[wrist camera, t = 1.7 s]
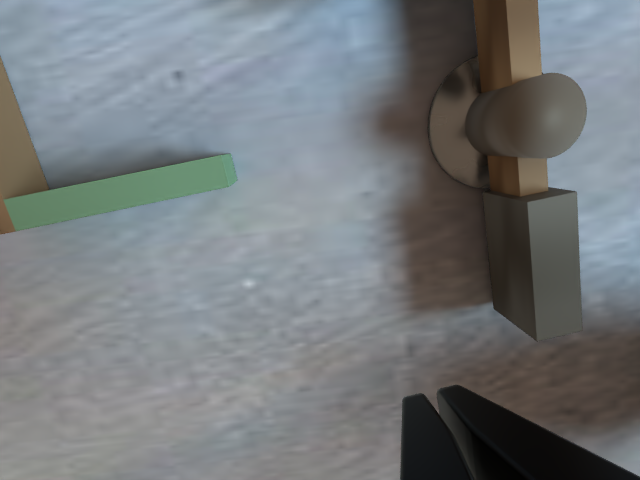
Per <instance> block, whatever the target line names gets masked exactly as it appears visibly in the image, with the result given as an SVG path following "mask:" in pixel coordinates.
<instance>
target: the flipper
mask: <svg viewBox="0 0 640 480" xmlns="http://www.w3.org/2000/svg"><path fill="white" fill-rule="evenodd" d="M473 5H474V16H475V27H476V38H477V48H478V59H479V70H480V81H481V92H482V93H481V94H480V95H479V96H478V97H477V98H476V99H475V100H474V101H473V102H472V104H471V106H470V108H469V110H468V112H467V115H466V121H465V130H466V135H467V138H468V140H469V142H470V144H471V145H472V146H473V147H474V148H475V149H476V150H477V151H478V152H480V153H482V154H484V155H487V157H488V168H489V179H490V189H491V190H490V191H485V192H482V193H483V203H484V213H485V224H486V234H487V244H488V255H489V265H490V275H491V285H492V296H493V306H494V309H495V310H496V311H498V312H499V313H500V314H502V315H503V316H504V317H505V318H507V319H508V320H509V321H511V322H512V323H513V324H515V325H516V326H517V327H519V328H520V329H521V330H523V331H524V332H525V333H526V334H528V335H529V336H530V337H532V338H533V339H534V340H536V341H542V340H546V339H550V338H554V337H559V336H563V335H567V334H571V333H576V332H580V331H582V313H581V287H580V261H579V235H578V209H577V192H576V191H570V190H563V189H557V188H550V187H548V176H547V158H551V157H555V156H557V155H560V154H561V153H563V152H565V151H566V150H567V149H569V148H570V147H571V146H572V145H573V144H574V143H575V141H576V140H577V139H578V137H579V136H580V134H581V132H582V130H583V127H584V124H585V120H586V114H587V107H586V100H585V97H584V94H583V92H582V90H581V88H580V87H579V85H578V84H577V83H576V82H575V81H574V80H572V79H571V78H570V77H568V76H566V75H563V74H559V73H546V74H542V69H541V51H540V33H539V16H538V0H473Z"/></svg>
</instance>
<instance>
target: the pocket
mask: <svg viewBox="0 0 640 480" xmlns="http://www.w3.org/2000/svg"><path fill="white" fill-rule="evenodd" d="M236 181H237V177H236V173H235V169H234V165H233V161H232V157H231V154H225V155H219V156H214V157H209V158H204V159H199V160H195V161H190V162H185V163H180V164H175V165H170V166H165V167H160V168H155V169H151V170H146V171H141V172H136V173H131V174H126V175H121V176H116V177H111V178H107V179H102V180H97V181H92V182H87V183H82V184H77V185H72V186H68V187H63V188H58V189H53V190H49V187H48V185H47V182H46V179H45V176H44V174H43V171H42V168H41V166H40V163H39V160H38V157H37V155H36V152H35V149H34V147H33V144H32V141H31V138H30V136H29V133H28V130H27V128H26V125H25V122H24V119H23V117H22V114H21V111H20V108H19V106H18V103H17V100H16V98H15V95H14V92H13V89H12V87H11V84H10V81H9V79H8V76H7V73H6V70H5V68H4V65H3V62H2V59H1V57H0V234H5V233H10V232H15V231H19V230H24V229H29V228H34V227H39V226H43V225H48V224H53V223H58V222H63V221H67V220H72V219H77V218H82V217H87V216H91V215H96V214H101V213H106V212H111V211H115V210H120V209H125V208H130V207H135V206H139V205H144V204H149V203H154V202H158V201H163V200H168V199H173V198H178V197H182V196H187V195H192V194H197V193H202V192H206V191H211V190H216V189H221V188H226V187H229V186H231V185H232V184H233V183H235V182H236Z"/></svg>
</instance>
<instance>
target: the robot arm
mask: <svg viewBox="0 0 640 480" xmlns="http://www.w3.org/2000/svg"><path fill="white" fill-rule="evenodd" d="M437 400H438V407H439V414H440V415H439V414H438V412H437V411H436V410H435V408H434V407H433V406H432V404H431V403H430V401H429V400H428V399H427V397H426V396H425V395H424V394H422V393H419V394H415V395H411V396H407V397H404V398H403V401H402V434H401V468H400V480H640V477H639V476H637V475H636V474H634V473H632V472H630V471H628V470H626V469H624V468H622V467H620V466H618V465H616V464H614V463H612V462H610V461H608V460H606V459H604V458H602V457H600V456H598V455H596V454H594V453H592V452H590V451H588V450H586V449H584V448H582V447H580V446H578V445H576V444H574V443H572V442H570V441H568V440H566V439H565V438H563V437H561V436H559V435H557V434H555V433H553V432H551V431H549V430H547V429H545V428H543V427H541V426H539V425H537V424H535V423H533V422H531V421H529V420H527V419H525V418H523V417H521V416H519V415H517V414H515V413H513V412H511V411H509V410H507V409H505V408H503V407H501V406H499V405H497V404H496V403H494V402H492V401H490V400H488V399H486V398H484V397H482V396H480V395H478V394H476V393H474V392H472V391H470V390H468V389H466V388H464V387H462V386H460V385H452V386H448V387H444V388H440V389H439V390H438V391H437Z"/></svg>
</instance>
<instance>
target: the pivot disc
mask: <svg viewBox="0 0 640 480" xmlns="http://www.w3.org/2000/svg"><path fill="white" fill-rule="evenodd" d="M542 74H543V73H542ZM481 93H482V92H481V81H480V70H479V59H478V56H477V57H474V58H472V59H470V60H468V61H466V62H464V63H463V64H461V65H460V66H458V67H457V68H456V69H454V70H453V71H452V72H451V73H450V74H449V75H448V76H447V77H446V79H445V80H444V81H443V83H442V84H441V85H440V87H439V89H438V90H437V92H436V94H435V97H434V99H433V101H432V105H431V108H430V112H429V118H428V137H429V142H430V146H431V149H432V152H433V154H434V156H435V158H436V160H437V162H438V163H439V165H440V166H441V167H442V169H443V170H444V171H445V172H446V173H447V174H448V175H450V176H451V177H452V178H453V179H455V180H457V181H458V182H461V183H463V184H465V185H468V186H472V187H477V188H490V179H489V168H488V157H487V155H484V154H482V153H480V152H478V151H477V150H476V149H475V148H474V147H473V146H472V145H471V144H470V142H469V140H468V138H467V135H466V130H465V121H466V115H467V112H468V110H469V108H470V106H471V104H472V102H473V101H474V100H475V99H476V98H477V97H478V96H479V95H480V94H481Z"/></svg>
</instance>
